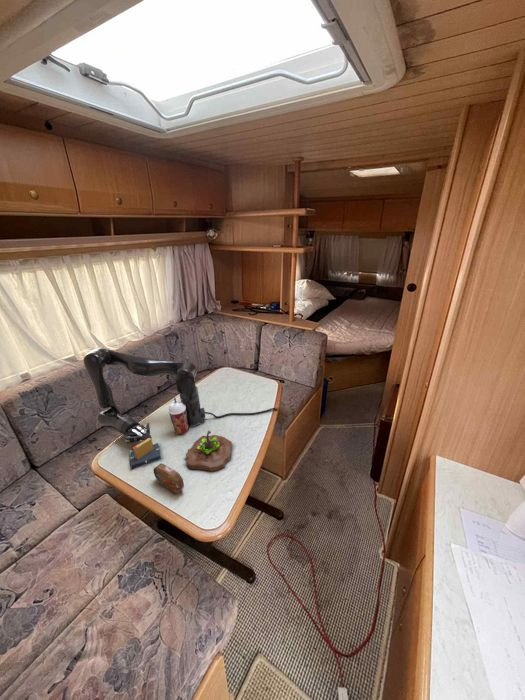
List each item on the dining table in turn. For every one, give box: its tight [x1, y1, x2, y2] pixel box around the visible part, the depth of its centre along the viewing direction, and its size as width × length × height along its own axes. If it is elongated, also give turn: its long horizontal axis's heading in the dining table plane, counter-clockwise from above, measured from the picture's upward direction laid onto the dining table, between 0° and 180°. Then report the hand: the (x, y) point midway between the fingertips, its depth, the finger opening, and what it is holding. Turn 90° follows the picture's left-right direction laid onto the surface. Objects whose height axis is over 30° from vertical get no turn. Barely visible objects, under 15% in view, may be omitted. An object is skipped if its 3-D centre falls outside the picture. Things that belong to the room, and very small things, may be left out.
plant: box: [185, 430, 233, 472], centre depth 122 cm, size 20×20×11 cm
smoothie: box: [167, 397, 189, 435], centre depth 135 cm, size 8×8×20 cm
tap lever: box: [132, 437, 154, 460], centre depth 121 cm, size 8×2×6 cm, turn 143°
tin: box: [153, 463, 185, 494], centre depth 108 cm, size 15×3×8 cm, turn 58°
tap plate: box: [129, 442, 162, 470], centre depth 123 cm, size 12×12×2 cm
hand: (149, 439), depth 124 cm, fingers closed
